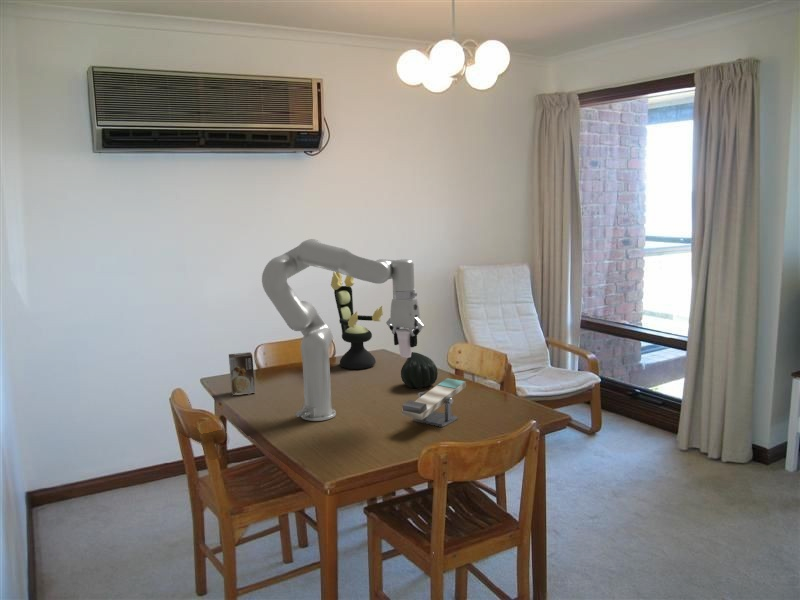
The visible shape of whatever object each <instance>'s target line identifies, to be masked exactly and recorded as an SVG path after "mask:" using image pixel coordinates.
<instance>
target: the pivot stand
mask: <svg viewBox="0 0 800 600" xmlns="http://www.w3.org/2000/svg"><path fill="white" fill-rule="evenodd" d="M425 393H427V392H425V391H421V392H418V393H417V397H418V398H420V397H421V396H423V395H424V394H425ZM453 403H454V399H453V397H452V398H451V397H446V398H445V403H444V413H443V412H439V411H436V410H435V411H433V412H432V413H431V414H429V415H428V416H427V417H425V418H424V419H423V420H420V419H415V418H412V419H413V420H412V421H413V422H416V423H420V422H421V424H425V423H426V424H425V425H429V424H430V426H434V425H435V426H434V427H438V426H439V428H444V427H446V426H448V425H449V424H452V423H453V422H455V421H457V420H458V415H452V404H453Z"/></svg>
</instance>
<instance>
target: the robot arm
mask: <svg viewBox="0 0 800 600" xmlns="http://www.w3.org/2000/svg"><path fill="white" fill-rule="evenodd" d="M414 265H415V264H414V261H413V260H411V259H406V258H405V259H404V258H403V259H402V258H401V259H395V260H394V259H383V258H382V259H381V258H380V259H377V260H373V259H368V258H365V257H361V256H358V255H356V254H354V253H352V252H351V251H350V250H348V249H345V248H342V247H337V246H333V245H329V244H326V243H322V242H321V241H320V240H317V239H314V238H311V239H310V238H308V239H306V240H304V241H302V242H300V244H299V245H297V246H295V247H294V248H292V249H290V250H288V251H287V252H284V253H283V254H281V255H277V256H275V257H273V258H271V260H269V261H268V262H267V264H266V265H265V267H264V269H263V271H262V273H261V283H262V288H263V290H264V292H265V294H266V296H267V298H268V299H269V300H270V302H271V303H272V304H273V306H274V307H275V309H276V311H277V312H278V313H279V315H280V316H281V318H282V320H283V321H284V322H285V324H286V325H287V326H288V327H289V328H290V330H291V331H294V332H301V334H302V335H303V337H302V339H301V342H300V354H301V360H302V375H303V396H304V400H303V401H304V405H302V408H301V409H300V410H297V411H296V412H295V416H296V418H301V419H303V420H306V421H309V422H310V421H311V422H321V421H327V420H331V419H333V418H334V417H335V416H336V415H337V411H336V410H335V409H334V408H332V395H331V394H332V391H331V390H332V389H331V388H332V387H331V370H330V368H331V366H330V365H331V364H330V356H329V355H330V354H329V348H330V347H331V345H332V343H333V333H332V331H331V328H329V326H328V324H327V323H326V322H325V320H324V319H323V316H321V315H320V313H319V312H318V310H317V308H315V306H314V305H313V304H312V303H310V302H308V301H306V300H300V298H299V296H298V295H297V294H296V292H295V290H293V289H292V287H291V286H290V285H289V283H288V280H289V278H291V277H293V276H295V275H297V274H298V273H300V272H302V271H304V270H305V269H307V268H309V267H315V268H319V269H322V270H327V271H331V272H335V273H336V272H338V273H340V274H341V275H344V276H350V277H353V279H357V280H360V281H364V282H369V283H372V284H376V285H377V284H379V285H380V284H385V283H386V282H387V281H388V280H392V297H393V298H392V299H391V303H390V315H389V316H390V318H388V320H387V321H386V323H385V324H386V325H387V326H388V328H389V329H390V331H391V333H392V335H393V344H394V346H399V343H398V337H397V333H396V330H397V329H400V328H409V330H410V333H411V336H410V347H412V348H414V347H417V346H418V335H419V334H420V333H421V331H422V330H423V329H424V328H425V325H424V324H423V322H422V321H421V316H420V315H421V314H420V307H419V302H418V299H417V298H416V297H417V296H418V293H417V292H416V291H415V268H414V267H415V266H414ZM413 330H414V331H413Z"/></svg>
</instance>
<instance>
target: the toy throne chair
mask: <svg viewBox="0 0 800 600" xmlns="http://www.w3.org/2000/svg"><path fill="white" fill-rule="evenodd" d="M332 275H333V276H331V283H330V286H331V288H332V289H333V291H334V292H333V294H334V299H335V303H336V308H337V312H338V317H339V324H340V326H341V327H340V328H341V338H342V340H343V341H344V342H345V343H346V342H347V343H350V348H349V349H348V350H347V351H346V352H345V353H344V354H343V355H342V356H341V358H340V360H339V365H340V366H341V367H342V368H344V369H348V370H349V369H350V370H363V369H368V368H369V369H370V368H372V367H374V366H375V364H376V363H377V361H376V358H375V357H374V355H373V354H372V353H371V352H370V351H368V350H367V349H366V348H365V347H364V343H365V342H369V341H371V339H372V338H373V334H372V332H371V331H370V330H369V328H366V327H365V326H362V325H357V322H358V321H368V322H369V321H373V322H382V320H381V317H382V316H383V315H384V314H383V313H384V312H383V310H384V309H383V305H381V306H380V307H379V308H376V310H375V311H374V313H373V315H360V314H359V315H358V311H355V312H354V303H353V302H354V301H353V299H354V298H353V289H352V287H353V286H354V284H355V283H354V278H353V277H350V276H347V275H345V279H344V283H343V282H342V281H343V280H342V277H343V276H342V274H341V273H338V272H334V271H332ZM343 284H345V285H343ZM373 365H374V366H373Z"/></svg>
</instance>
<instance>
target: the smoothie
mask: <svg viewBox="0 0 800 600" xmlns="http://www.w3.org/2000/svg"><path fill="white" fill-rule="evenodd" d="M413 331H414V330H413ZM396 333H397V337H398V343H399V344H398V348H399V355H400V358H403V359H407V358H409V357H411V353H412V352H413V347H410V336H411V333H410V330H409V328H402V327H401V328H400V329H397V330H396Z"/></svg>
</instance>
